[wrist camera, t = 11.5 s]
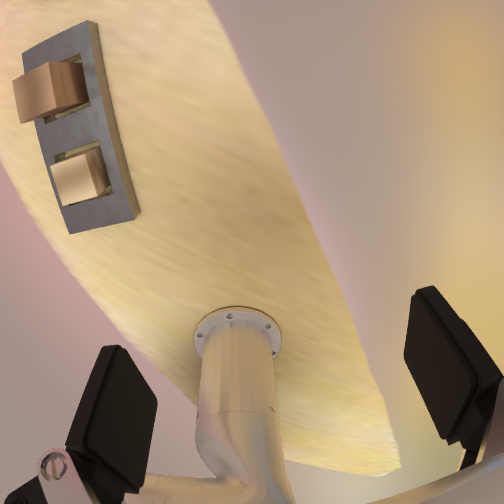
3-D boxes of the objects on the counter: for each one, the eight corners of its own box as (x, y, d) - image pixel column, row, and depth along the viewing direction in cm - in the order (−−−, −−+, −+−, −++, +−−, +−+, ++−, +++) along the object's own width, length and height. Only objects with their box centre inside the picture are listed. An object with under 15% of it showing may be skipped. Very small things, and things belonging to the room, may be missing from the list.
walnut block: (85, 63, 27) (48, 61, 20) (92, 100, 29) (56, 107, 22) (52, 77, 27) (12, 81, 20) (59, 113, 29) (20, 124, 22)
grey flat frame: (140, 211, 36) (134, 219, 34) (78, 225, 36) (69, 234, 34) (97, 23, 25) (87, 20, 23) (33, 53, 25) (21, 53, 23)
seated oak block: (113, 181, 34) (97, 196, 30) (81, 190, 34) (62, 205, 30) (103, 144, 32) (84, 153, 28) (70, 155, 32) (49, 166, 28)
